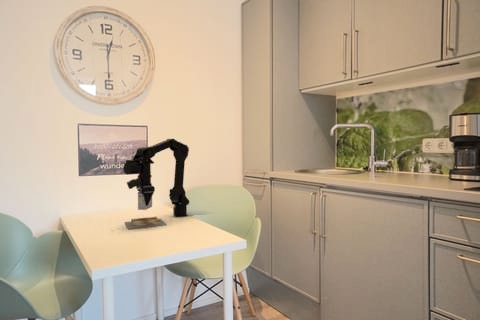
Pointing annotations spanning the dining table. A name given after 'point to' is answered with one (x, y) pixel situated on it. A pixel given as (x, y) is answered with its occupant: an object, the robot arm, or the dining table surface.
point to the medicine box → (143, 202)
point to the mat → (130, 226)
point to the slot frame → (145, 221)
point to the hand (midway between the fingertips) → (145, 204)
